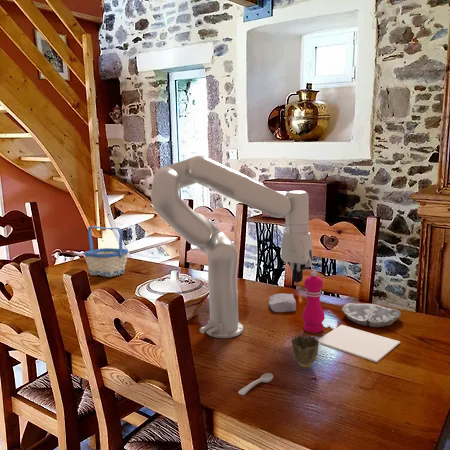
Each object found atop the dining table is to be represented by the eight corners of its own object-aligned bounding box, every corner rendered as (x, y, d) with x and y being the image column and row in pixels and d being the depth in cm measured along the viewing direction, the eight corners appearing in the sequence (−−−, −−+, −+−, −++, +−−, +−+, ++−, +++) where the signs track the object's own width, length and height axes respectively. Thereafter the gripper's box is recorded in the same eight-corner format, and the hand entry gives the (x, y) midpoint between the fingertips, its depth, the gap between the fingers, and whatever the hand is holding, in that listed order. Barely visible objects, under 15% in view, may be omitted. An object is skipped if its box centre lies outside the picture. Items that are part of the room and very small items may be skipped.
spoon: (276, 379, 121) (275, 373, 120) (244, 400, 113) (243, 393, 113) (267, 375, 123) (267, 369, 123) (236, 396, 115) (235, 389, 115)
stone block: (272, 317, 167) (298, 311, 166) (269, 305, 166) (295, 299, 166) (269, 306, 179) (294, 301, 178) (266, 295, 178) (291, 289, 177)
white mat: (376, 362, 128) (376, 360, 128) (315, 342, 141) (315, 340, 141) (400, 343, 139) (400, 341, 139) (341, 326, 153) (341, 324, 153)
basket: (134, 272, 222) (131, 225, 217) (110, 282, 208) (106, 232, 203) (104, 267, 232) (100, 222, 228) (79, 276, 218) (75, 228, 214)
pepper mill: (319, 335, 146) (320, 276, 142) (298, 330, 150) (299, 273, 146) (327, 327, 152) (328, 270, 148) (307, 323, 156) (307, 267, 152)
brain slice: (337, 326, 154) (337, 317, 153) (345, 308, 169) (346, 300, 168) (398, 334, 146) (399, 325, 145) (402, 315, 161) (402, 307, 160)
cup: (320, 362, 129) (320, 336, 127) (316, 375, 122) (317, 347, 120) (294, 358, 131) (294, 333, 130) (289, 371, 124) (289, 344, 123)
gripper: (272, 227, 151) (273, 280, 155) (310, 233, 141) (310, 288, 145) (285, 224, 157) (285, 274, 160) (323, 228, 147) (322, 282, 150)
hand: (297, 281), depth 153 cm, fingers closed
